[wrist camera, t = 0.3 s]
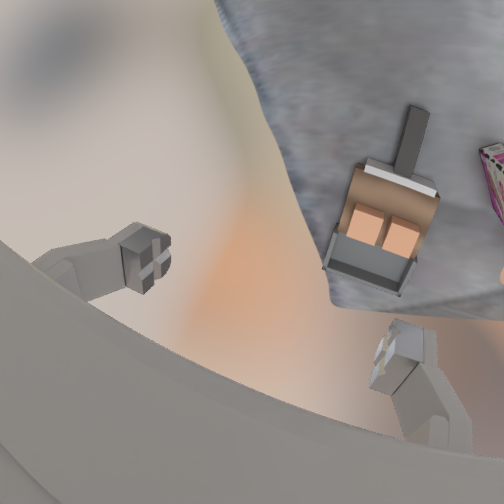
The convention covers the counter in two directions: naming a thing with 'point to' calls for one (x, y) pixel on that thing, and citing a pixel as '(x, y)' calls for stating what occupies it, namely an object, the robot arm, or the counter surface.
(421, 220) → the board
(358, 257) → the tray
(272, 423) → the robot arm
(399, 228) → the tile
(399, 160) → the scraper
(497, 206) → the candy bar box
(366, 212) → the tile
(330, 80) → the counter surface
